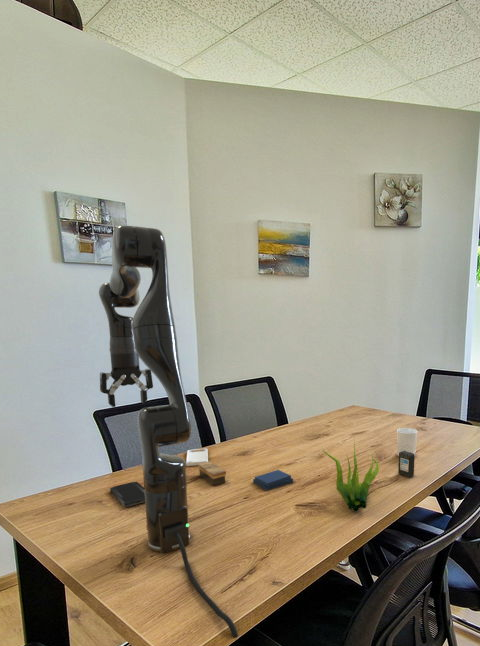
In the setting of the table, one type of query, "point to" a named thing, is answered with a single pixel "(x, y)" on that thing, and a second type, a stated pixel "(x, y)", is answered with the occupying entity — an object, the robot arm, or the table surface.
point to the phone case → (196, 457)
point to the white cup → (406, 440)
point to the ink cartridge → (406, 463)
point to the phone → (129, 494)
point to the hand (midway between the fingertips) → (128, 404)
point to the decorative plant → (354, 484)
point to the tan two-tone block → (212, 473)
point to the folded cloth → (272, 479)
